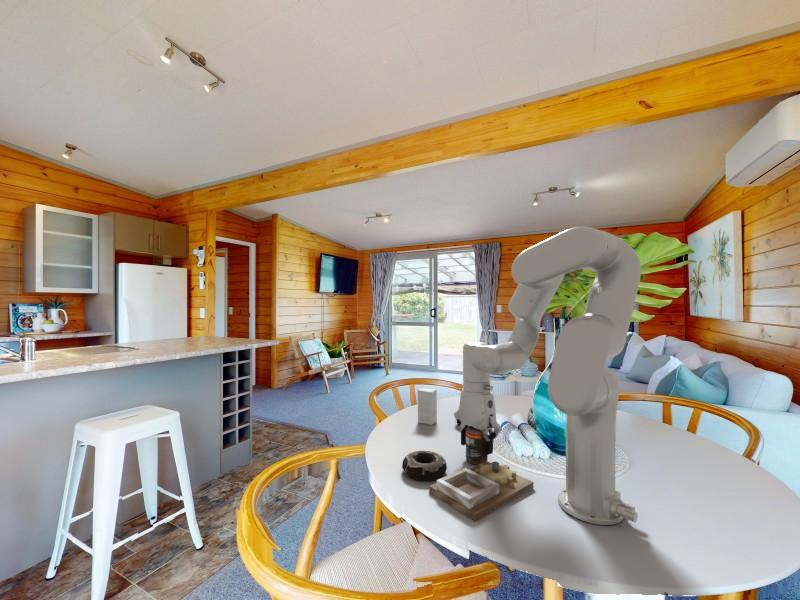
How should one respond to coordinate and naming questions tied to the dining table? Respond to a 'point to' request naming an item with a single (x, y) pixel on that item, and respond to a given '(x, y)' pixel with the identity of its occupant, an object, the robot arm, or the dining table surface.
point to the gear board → (480, 489)
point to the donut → (424, 465)
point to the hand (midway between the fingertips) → (476, 448)
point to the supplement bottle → (475, 446)
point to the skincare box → (427, 406)
